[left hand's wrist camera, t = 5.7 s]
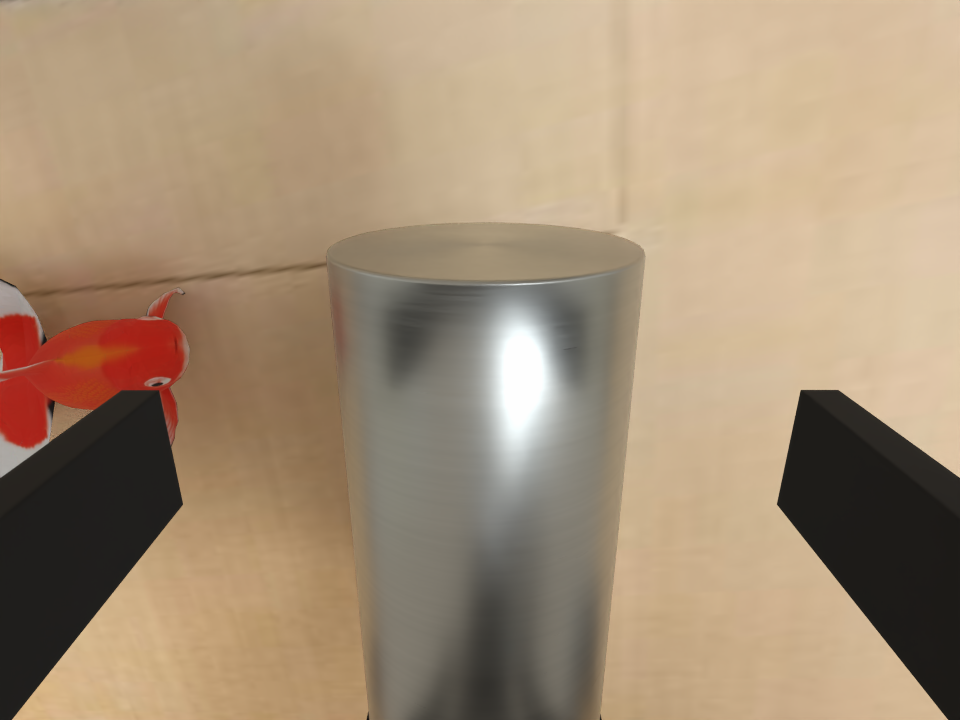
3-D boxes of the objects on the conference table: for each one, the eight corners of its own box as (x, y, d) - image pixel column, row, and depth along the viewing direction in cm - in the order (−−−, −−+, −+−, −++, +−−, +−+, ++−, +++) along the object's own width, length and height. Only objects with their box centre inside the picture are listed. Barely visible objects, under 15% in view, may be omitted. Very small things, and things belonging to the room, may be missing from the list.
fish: (248, 511, 30) (28, 574, 21) (57, 453, 37) (-173, 483, 27) (268, 296, 30) (52, 267, 20) (72, 277, 36) (-159, 248, 27)
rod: (359, 222, 20) (281, 281, 12) (610, 222, 20) (691, 281, 12) (397, 748, 29) (366, 975, 21) (570, 749, 28) (602, 976, 21)
